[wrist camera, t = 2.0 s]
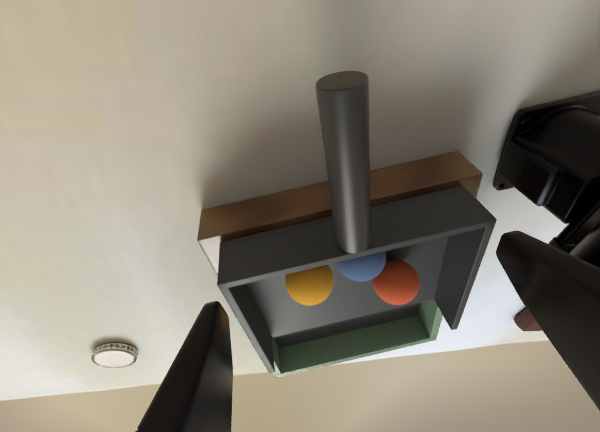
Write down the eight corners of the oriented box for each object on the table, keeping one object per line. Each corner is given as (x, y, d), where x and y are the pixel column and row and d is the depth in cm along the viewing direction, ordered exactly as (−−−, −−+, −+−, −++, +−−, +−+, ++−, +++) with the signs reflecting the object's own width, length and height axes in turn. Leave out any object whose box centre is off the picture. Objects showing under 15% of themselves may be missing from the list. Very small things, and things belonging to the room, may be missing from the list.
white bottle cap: (124, 365, 33) (122, 371, 32) (85, 356, 30) (83, 362, 30) (145, 349, 31) (144, 356, 31) (106, 339, 29) (104, 345, 29)
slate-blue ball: (372, 221, 21) (388, 231, 17) (381, 265, 21) (398, 282, 18) (326, 232, 20) (334, 243, 17) (336, 276, 21) (345, 295, 18)
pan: (436, 294, 28) (457, 330, 25) (266, 335, 27) (269, 374, 25) (501, 23, 13) (565, 38, 11) (150, 103, 13) (128, 138, 11)
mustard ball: (327, 263, 22) (325, 242, 20) (339, 305, 20) (338, 288, 18) (285, 273, 22) (277, 253, 20) (293, 316, 20) (285, 300, 18)
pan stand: (457, 150, 21) (483, 173, 19) (434, 265, 30) (450, 290, 28) (201, 210, 21) (196, 240, 19) (251, 308, 30) (252, 337, 28)
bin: (434, 265, 30) (450, 290, 28) (423, 316, 36) (435, 339, 34) (251, 308, 30) (252, 337, 28) (273, 352, 36) (275, 378, 34)
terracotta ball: (404, 266, 24) (412, 247, 21) (422, 305, 22) (432, 289, 19) (365, 275, 24) (368, 257, 21) (379, 315, 22) (384, 300, 19)
